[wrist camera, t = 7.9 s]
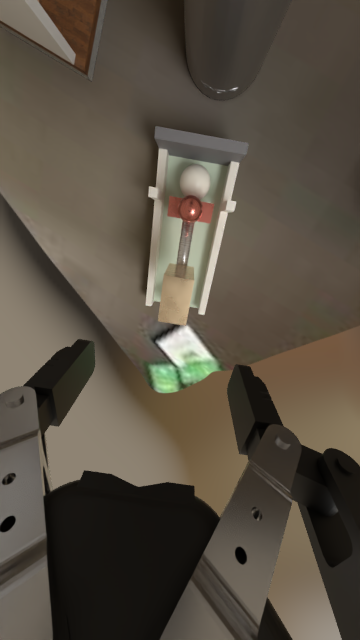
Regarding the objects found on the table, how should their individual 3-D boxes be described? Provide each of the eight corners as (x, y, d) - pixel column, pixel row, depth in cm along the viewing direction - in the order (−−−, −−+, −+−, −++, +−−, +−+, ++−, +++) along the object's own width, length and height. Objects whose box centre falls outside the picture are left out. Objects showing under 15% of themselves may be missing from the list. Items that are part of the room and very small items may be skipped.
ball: (177, 186, 25) (177, 203, 29) (210, 192, 25) (205, 208, 29) (182, 152, 25) (182, 175, 29) (215, 159, 25) (210, 180, 29)
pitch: (163, 146, 28) (153, 121, 20) (236, 160, 28) (251, 139, 21) (149, 298, 37) (139, 316, 30) (203, 306, 38) (205, 327, 31)
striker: (174, 198, 28) (161, 183, 16) (209, 204, 29) (223, 194, 16) (164, 283, 34) (148, 319, 22) (193, 288, 34) (195, 327, 22)
